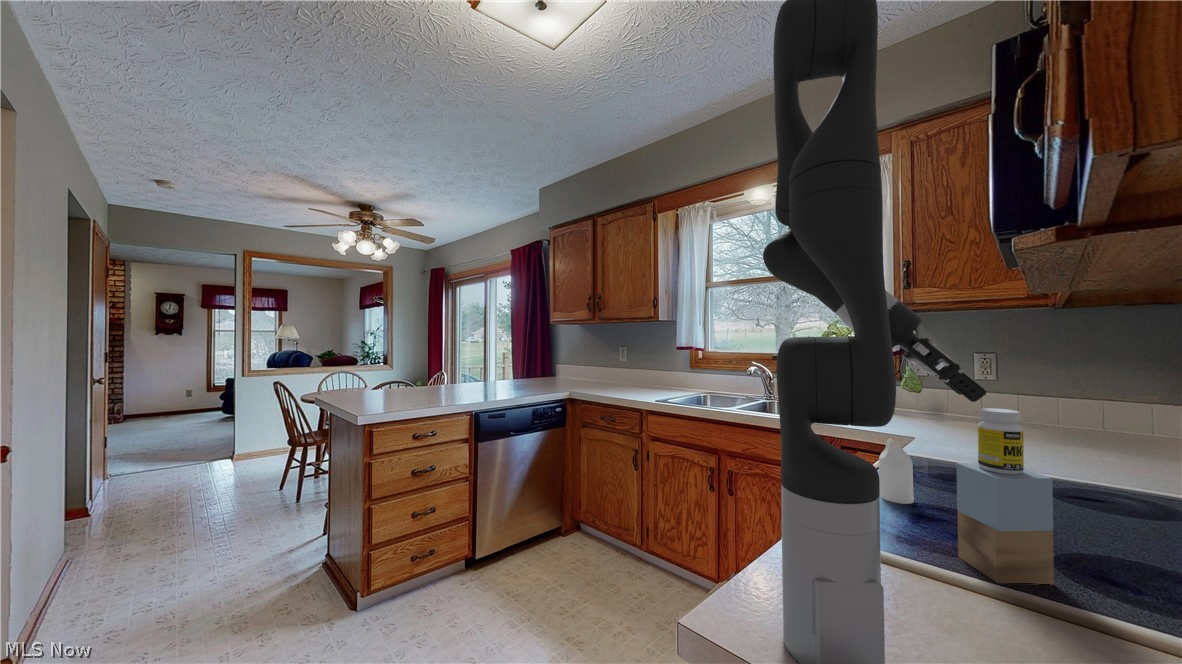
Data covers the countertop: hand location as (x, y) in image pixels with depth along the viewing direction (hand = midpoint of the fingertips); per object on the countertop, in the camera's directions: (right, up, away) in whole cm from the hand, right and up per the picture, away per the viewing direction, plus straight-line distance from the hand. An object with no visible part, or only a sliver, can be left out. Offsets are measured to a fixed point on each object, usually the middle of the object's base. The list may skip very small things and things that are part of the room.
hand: (972, 394), depth 64 cm
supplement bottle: (+3, -11, -1) cm, 11 cm away
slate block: (+3, -17, -1) cm, 18 cm away
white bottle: (+6, -25, +25) cm, 36 cm away
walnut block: (+3, -24, -1) cm, 25 cm away
